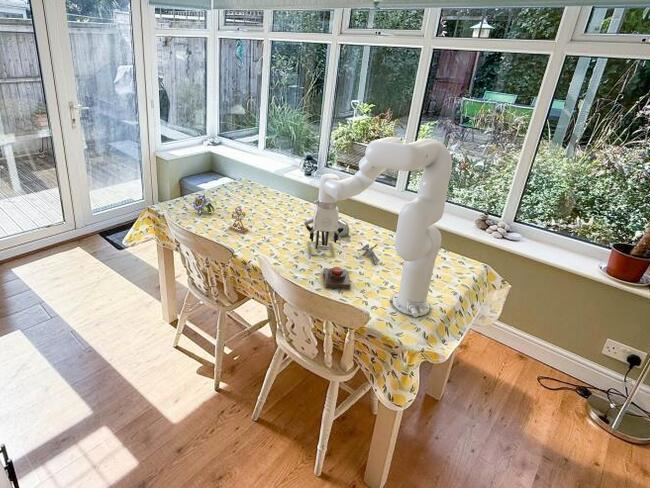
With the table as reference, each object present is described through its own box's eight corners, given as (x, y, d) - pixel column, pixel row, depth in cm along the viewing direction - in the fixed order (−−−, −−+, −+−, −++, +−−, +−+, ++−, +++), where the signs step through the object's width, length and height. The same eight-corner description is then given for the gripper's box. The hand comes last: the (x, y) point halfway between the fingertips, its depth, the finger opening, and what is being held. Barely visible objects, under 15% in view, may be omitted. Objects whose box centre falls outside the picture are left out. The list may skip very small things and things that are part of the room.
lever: (329, 250, 175) (329, 247, 173) (317, 249, 175) (317, 246, 174) (327, 226, 182) (328, 223, 181) (316, 226, 183) (317, 223, 181)
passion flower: (198, 222, 222) (185, 204, 221) (210, 212, 230) (199, 194, 228) (209, 216, 214) (196, 197, 213) (222, 206, 221) (209, 188, 220)
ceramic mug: (325, 236, 197) (326, 221, 194) (337, 231, 202) (338, 217, 199) (342, 245, 190) (343, 230, 186) (353, 240, 194) (355, 225, 191)
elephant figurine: (365, 267, 172) (353, 251, 178) (369, 271, 176) (357, 256, 182) (385, 252, 171) (372, 237, 176) (388, 257, 175) (375, 242, 181)
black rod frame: (333, 256, 179) (336, 230, 174) (310, 255, 180) (312, 229, 175) (330, 243, 190) (332, 218, 185) (308, 242, 191) (310, 217, 186)
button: (342, 275, 159) (342, 271, 158) (332, 275, 159) (333, 271, 158) (341, 270, 162) (341, 266, 161) (331, 270, 162) (332, 266, 162)
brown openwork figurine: (229, 228, 204) (228, 206, 199) (233, 225, 207) (233, 203, 202) (243, 233, 199) (243, 210, 194) (248, 230, 202) (248, 208, 197)
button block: (349, 289, 156) (350, 280, 155) (325, 288, 157) (326, 279, 156) (345, 273, 167) (346, 265, 165) (323, 272, 167) (324, 264, 166)
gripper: (306, 206, 164) (303, 244, 171) (350, 208, 163) (345, 246, 170) (305, 199, 171) (302, 235, 178) (347, 201, 170) (342, 237, 177)
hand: (323, 240), depth 174 cm, fingers open, 9 cm apart
